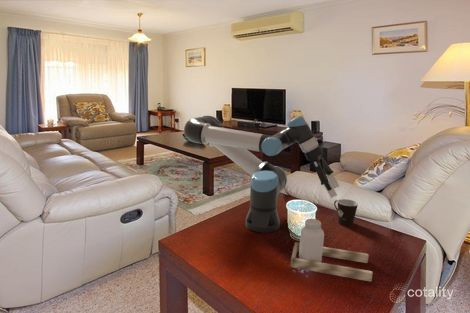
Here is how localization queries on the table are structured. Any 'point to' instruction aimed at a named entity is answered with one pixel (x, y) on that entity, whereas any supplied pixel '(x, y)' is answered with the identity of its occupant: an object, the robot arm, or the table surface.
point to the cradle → (332, 268)
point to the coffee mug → (346, 211)
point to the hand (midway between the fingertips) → (335, 191)
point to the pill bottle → (311, 241)
